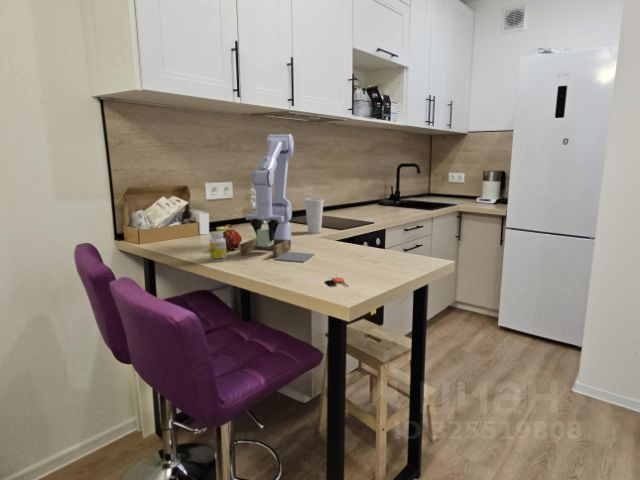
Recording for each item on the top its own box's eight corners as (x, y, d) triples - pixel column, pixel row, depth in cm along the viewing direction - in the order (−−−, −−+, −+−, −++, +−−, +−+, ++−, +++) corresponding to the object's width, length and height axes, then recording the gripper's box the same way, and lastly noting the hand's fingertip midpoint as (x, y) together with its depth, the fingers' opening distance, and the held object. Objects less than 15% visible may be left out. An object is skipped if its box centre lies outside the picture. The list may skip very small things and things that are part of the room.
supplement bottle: (210, 258, 146) (208, 231, 144) (225, 257, 148) (224, 230, 146) (211, 262, 142) (210, 234, 139) (228, 261, 143) (226, 233, 141)
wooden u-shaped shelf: (256, 247, 163) (256, 237, 162) (290, 250, 159) (290, 239, 158) (240, 254, 152) (240, 244, 151) (276, 257, 147) (276, 246, 146)
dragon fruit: (223, 257, 155) (233, 254, 167) (241, 244, 154) (249, 241, 166) (210, 238, 155) (220, 236, 167) (228, 225, 154) (237, 224, 166)
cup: (301, 232, 193) (301, 199, 190) (315, 229, 199) (315, 197, 195) (313, 234, 187) (313, 200, 184) (327, 232, 192) (327, 199, 189)
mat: (286, 252, 154) (286, 251, 154) (314, 254, 151) (314, 253, 151) (273, 260, 144) (273, 258, 144) (303, 262, 141) (303, 261, 140)
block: (263, 243, 157) (262, 227, 156) (273, 244, 156) (273, 228, 154) (257, 246, 153) (256, 230, 152) (268, 246, 151) (267, 230, 150)
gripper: (241, 204, 150) (242, 240, 152) (277, 205, 145) (278, 243, 148) (250, 201, 156) (252, 236, 159) (285, 203, 151) (286, 239, 154)
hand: (265, 239), depth 154 cm, fingers closed on block, 4 cm apart
